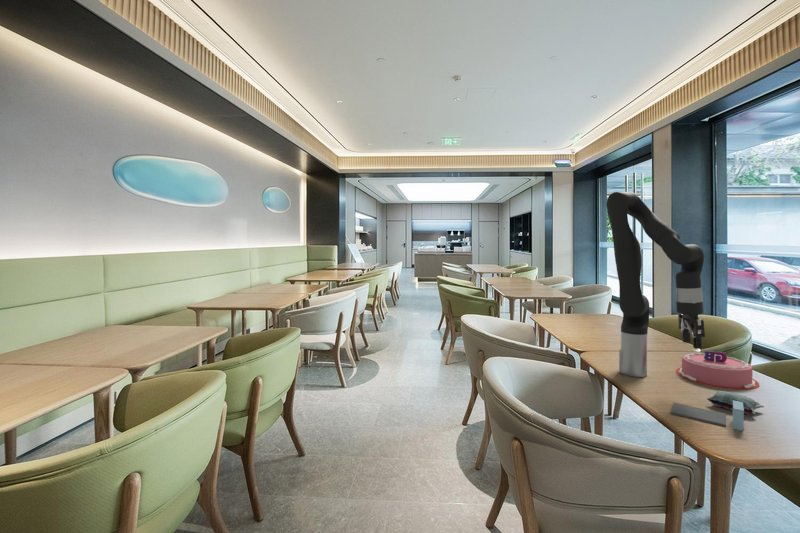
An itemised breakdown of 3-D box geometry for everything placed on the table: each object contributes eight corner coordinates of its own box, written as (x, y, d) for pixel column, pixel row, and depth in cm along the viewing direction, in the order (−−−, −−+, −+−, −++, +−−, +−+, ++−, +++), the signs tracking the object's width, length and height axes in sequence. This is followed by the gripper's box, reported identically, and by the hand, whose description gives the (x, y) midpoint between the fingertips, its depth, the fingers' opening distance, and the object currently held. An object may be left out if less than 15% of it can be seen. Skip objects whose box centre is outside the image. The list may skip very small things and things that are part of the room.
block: (732, 428, 104) (733, 408, 104) (732, 419, 110) (732, 400, 109) (743, 431, 103) (743, 410, 103) (742, 421, 108) (742, 402, 108)
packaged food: (716, 399, 124) (717, 385, 124) (764, 412, 114) (764, 397, 114) (706, 405, 120) (706, 391, 119) (754, 420, 109) (755, 404, 109)
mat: (670, 413, 114) (670, 411, 114) (673, 404, 121) (673, 402, 121) (726, 426, 105) (726, 424, 105) (726, 415, 112) (726, 413, 112)
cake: (750, 374, 147) (750, 348, 147) (768, 395, 127) (769, 365, 126) (673, 364, 161) (673, 340, 161) (678, 382, 140) (679, 355, 140)
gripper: (668, 298, 137) (671, 340, 138) (685, 303, 124) (688, 350, 124) (692, 297, 135) (695, 340, 135) (712, 302, 121) (714, 350, 122)
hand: (691, 345), depth 130 cm, fingers open, 8 cm apart
